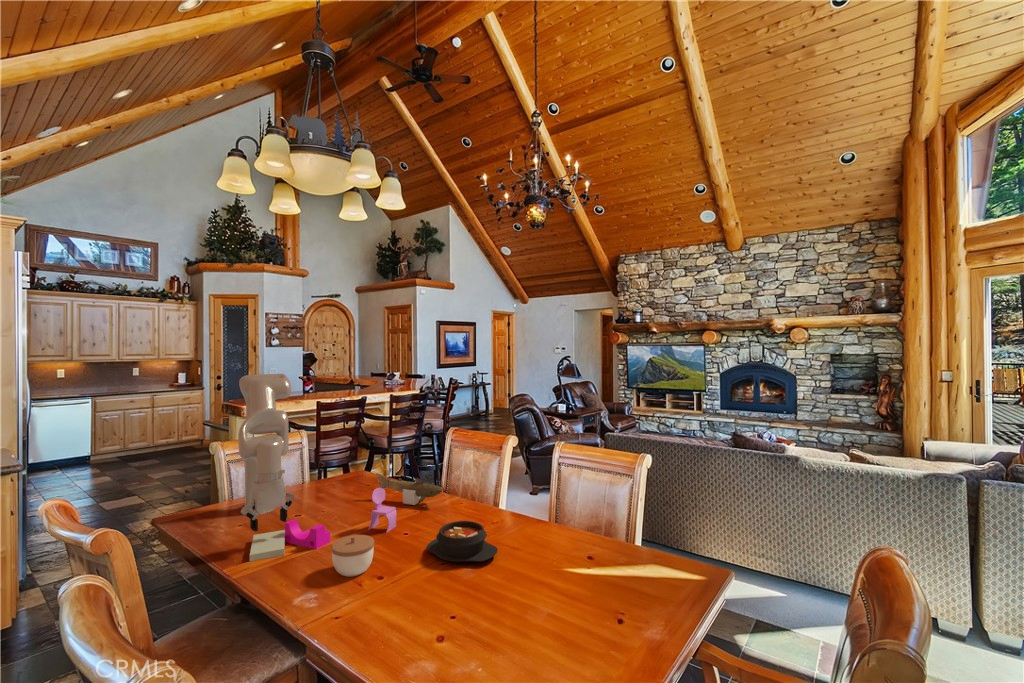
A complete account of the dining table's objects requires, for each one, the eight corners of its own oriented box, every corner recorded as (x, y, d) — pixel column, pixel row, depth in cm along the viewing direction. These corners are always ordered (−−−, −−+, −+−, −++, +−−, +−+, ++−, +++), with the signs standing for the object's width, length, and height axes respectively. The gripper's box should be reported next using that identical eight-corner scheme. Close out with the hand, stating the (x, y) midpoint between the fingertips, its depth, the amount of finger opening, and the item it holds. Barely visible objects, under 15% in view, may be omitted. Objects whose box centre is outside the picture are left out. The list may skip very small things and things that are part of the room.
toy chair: (386, 533, 170) (386, 493, 170) (366, 530, 173) (366, 491, 173) (398, 525, 178) (398, 487, 178) (379, 522, 180) (379, 485, 180)
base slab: (253, 544, 162) (253, 534, 162) (285, 539, 167) (285, 529, 167) (249, 565, 147) (249, 555, 147) (284, 559, 151) (284, 548, 151)
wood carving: (382, 493, 215) (382, 470, 215) (447, 502, 202) (447, 477, 202) (370, 499, 207) (370, 475, 207) (436, 509, 194) (436, 483, 194)
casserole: (507, 549, 157) (506, 524, 157) (481, 574, 140) (480, 547, 140) (445, 536, 167) (445, 513, 167) (414, 558, 150) (414, 533, 150)
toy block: (330, 543, 162) (330, 522, 162) (316, 551, 156) (316, 529, 156) (299, 537, 168) (299, 516, 168) (284, 544, 162) (284, 523, 162)
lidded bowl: (382, 566, 145) (382, 531, 145) (356, 586, 133) (356, 548, 133) (349, 560, 149) (349, 526, 149) (322, 579, 137) (322, 542, 137)
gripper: (288, 468, 166) (288, 515, 166) (237, 480, 152) (237, 531, 152) (299, 472, 162) (299, 520, 162) (247, 484, 148) (247, 537, 148)
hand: (269, 525), depth 157 cm, fingers open, 9 cm apart
